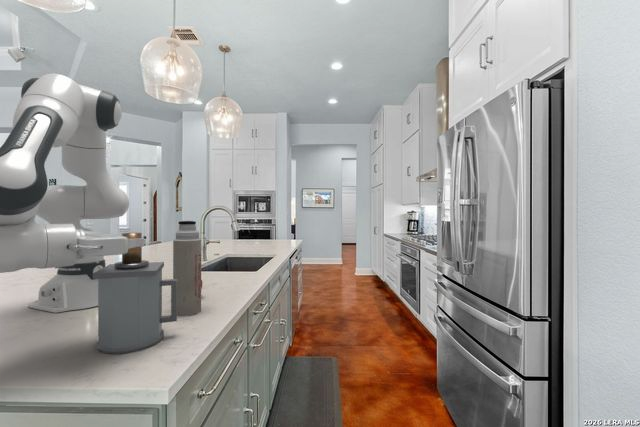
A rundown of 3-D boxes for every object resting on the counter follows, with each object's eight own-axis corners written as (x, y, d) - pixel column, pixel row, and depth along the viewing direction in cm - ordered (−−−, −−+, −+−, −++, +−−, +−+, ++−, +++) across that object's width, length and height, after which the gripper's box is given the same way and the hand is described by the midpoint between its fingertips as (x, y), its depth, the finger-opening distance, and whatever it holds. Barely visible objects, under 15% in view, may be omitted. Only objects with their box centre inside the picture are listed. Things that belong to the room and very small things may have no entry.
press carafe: (87, 358, 66) (87, 274, 66) (107, 333, 79) (107, 263, 79) (173, 347, 71) (174, 270, 71) (179, 326, 84) (179, 260, 84)
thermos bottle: (206, 308, 99) (206, 220, 99) (191, 317, 92) (191, 221, 91) (183, 306, 101) (184, 220, 101) (167, 315, 93) (167, 221, 93)
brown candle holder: (100, 321, 68) (100, 235, 68) (113, 308, 78) (113, 232, 77) (151, 316, 71) (151, 234, 71) (158, 304, 81) (158, 231, 81)
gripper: (74, 232, 58) (153, 229, 68) (52, 227, 71) (121, 225, 82) (74, 266, 58) (153, 258, 68) (52, 255, 71) (121, 249, 82)
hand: (136, 240), depth 75 cm, fingers open, 8 cm apart
